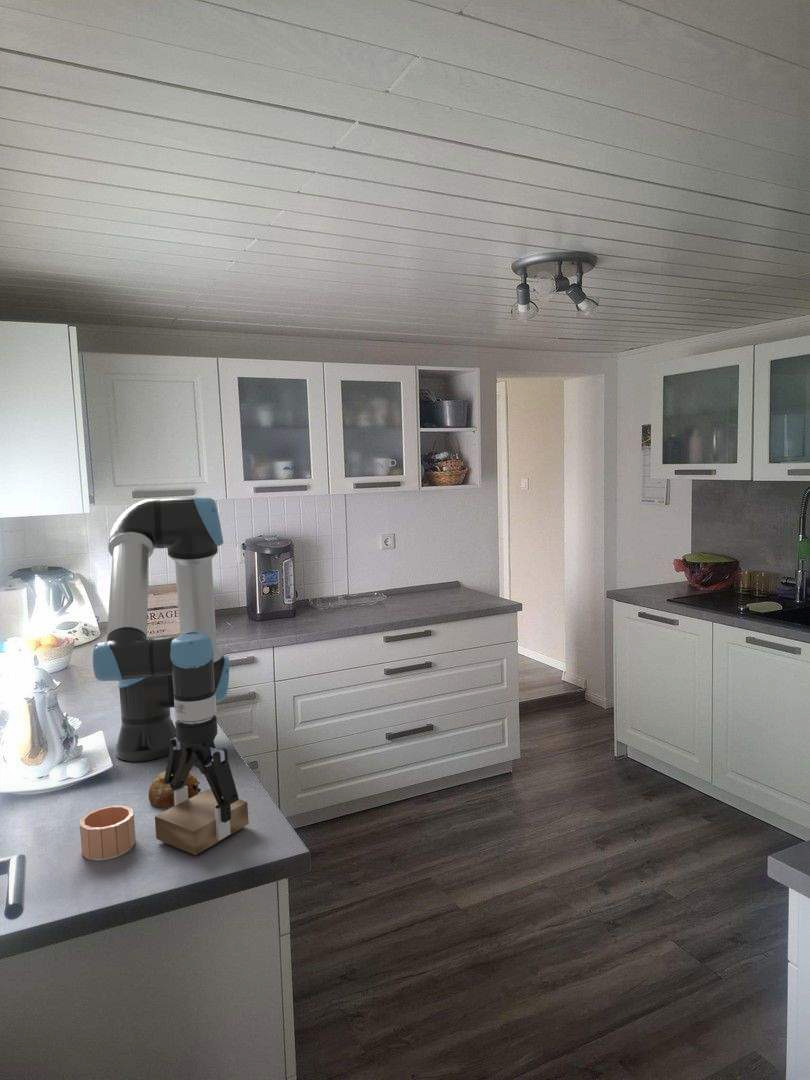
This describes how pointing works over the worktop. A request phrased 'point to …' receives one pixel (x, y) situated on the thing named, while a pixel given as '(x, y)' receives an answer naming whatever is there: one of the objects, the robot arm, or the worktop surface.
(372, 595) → the worktop surface
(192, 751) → the robot arm
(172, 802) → the bread roll
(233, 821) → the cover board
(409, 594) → the worktop surface
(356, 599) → the worktop surface
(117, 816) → the wooden tub
